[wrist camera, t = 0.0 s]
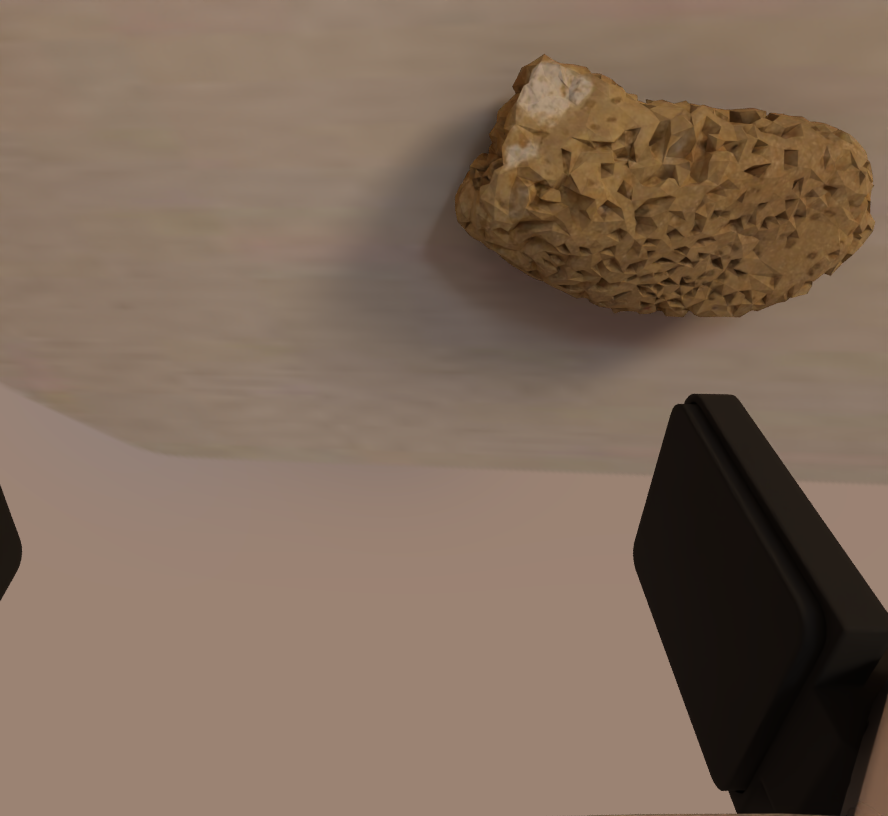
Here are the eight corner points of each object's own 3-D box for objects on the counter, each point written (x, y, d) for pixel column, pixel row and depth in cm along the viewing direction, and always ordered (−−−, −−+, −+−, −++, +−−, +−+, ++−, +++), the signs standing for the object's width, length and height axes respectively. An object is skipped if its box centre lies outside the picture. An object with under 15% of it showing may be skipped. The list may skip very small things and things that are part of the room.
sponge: (442, 220, 42) (739, 377, 44) (434, 236, 34) (791, 423, 37) (559, -15, 38) (879, 171, 40) (578, -54, 30) (970, 177, 32)
